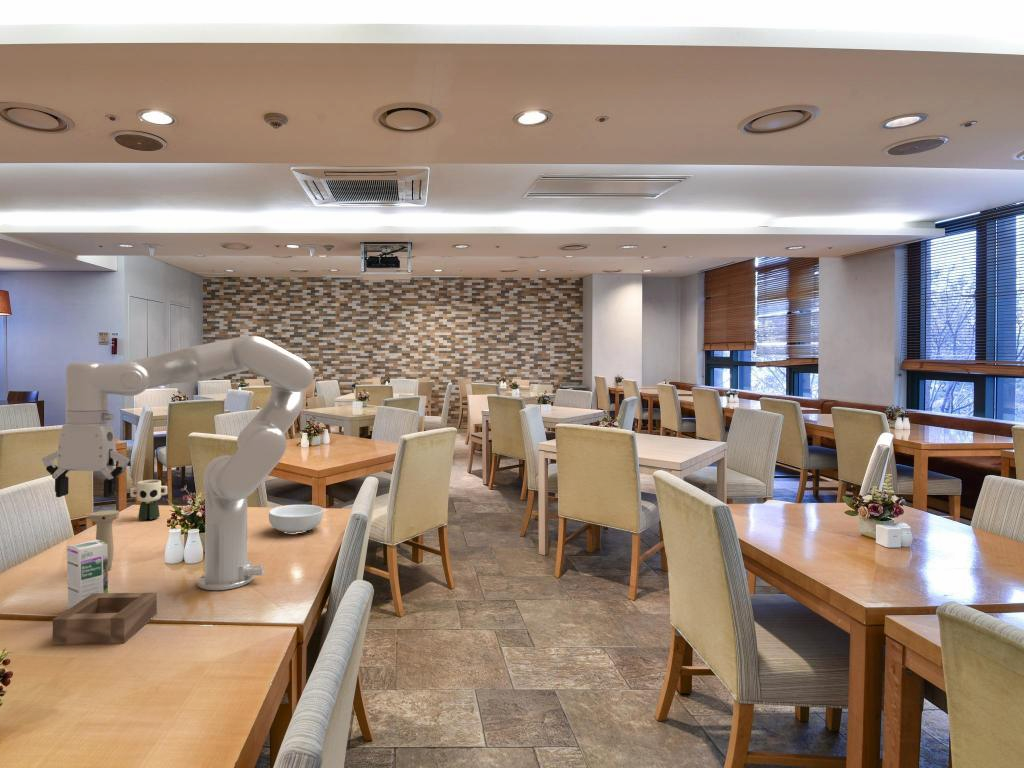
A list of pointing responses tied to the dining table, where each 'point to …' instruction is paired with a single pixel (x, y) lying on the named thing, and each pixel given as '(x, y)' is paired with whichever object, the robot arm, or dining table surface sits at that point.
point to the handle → (105, 530)
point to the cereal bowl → (295, 517)
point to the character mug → (148, 497)
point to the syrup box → (86, 570)
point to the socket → (104, 618)
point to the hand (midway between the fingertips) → (85, 496)
